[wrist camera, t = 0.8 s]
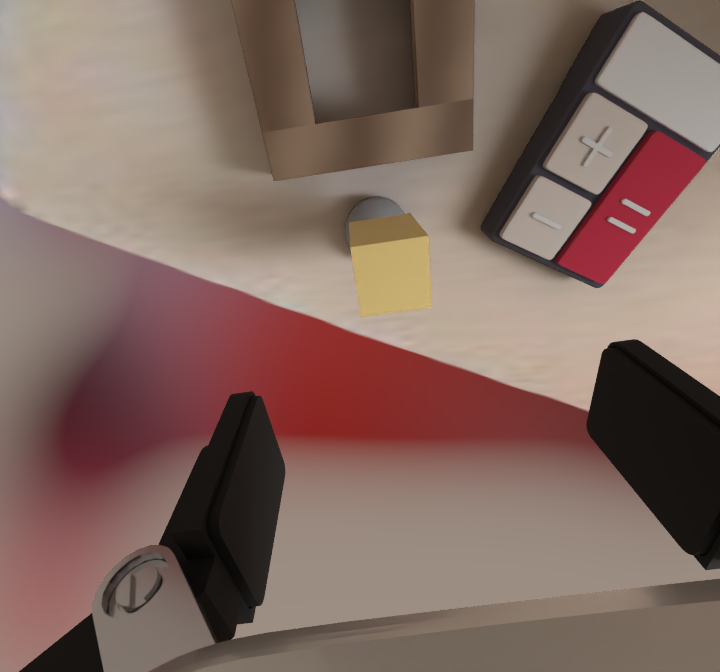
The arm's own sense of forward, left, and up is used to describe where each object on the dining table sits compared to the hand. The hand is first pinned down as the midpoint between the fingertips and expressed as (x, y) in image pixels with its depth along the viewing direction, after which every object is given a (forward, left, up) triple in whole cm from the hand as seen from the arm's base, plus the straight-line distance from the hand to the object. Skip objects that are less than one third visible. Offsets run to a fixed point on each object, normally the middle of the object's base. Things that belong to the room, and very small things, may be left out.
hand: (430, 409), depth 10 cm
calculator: (-17, -2, -23) cm, 29 cm away
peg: (0, 0, -22) cm, 22 cm away
